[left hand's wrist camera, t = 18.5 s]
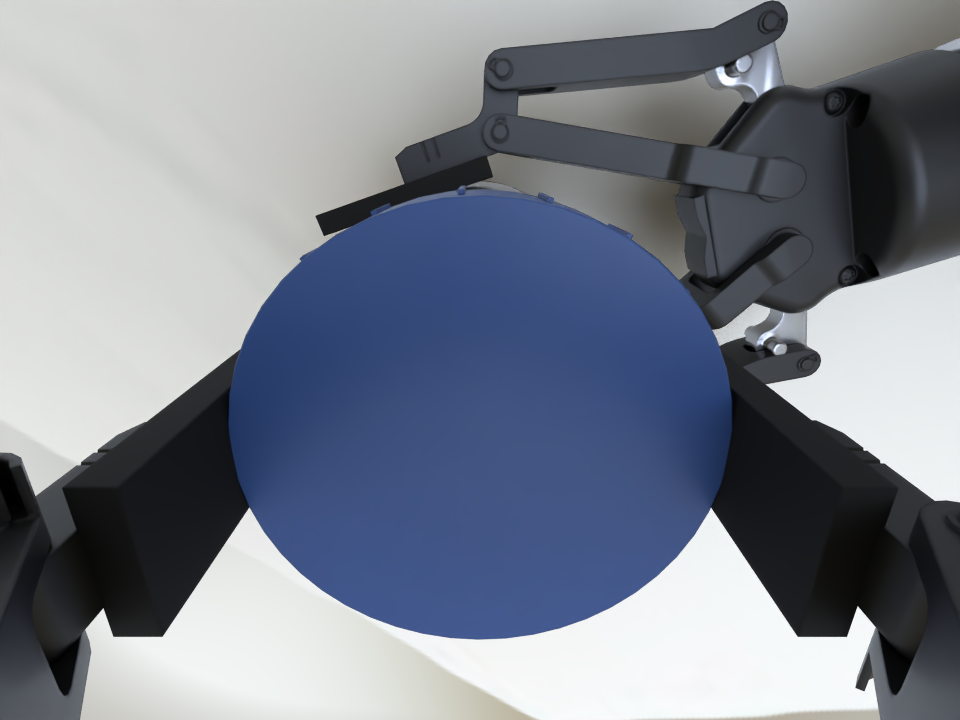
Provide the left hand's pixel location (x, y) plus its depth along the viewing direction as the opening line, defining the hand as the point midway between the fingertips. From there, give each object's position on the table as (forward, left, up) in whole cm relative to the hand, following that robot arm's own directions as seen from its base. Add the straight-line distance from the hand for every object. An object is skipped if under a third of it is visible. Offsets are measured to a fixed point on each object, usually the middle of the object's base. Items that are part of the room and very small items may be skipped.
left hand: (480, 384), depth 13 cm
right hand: (-4, -2, -8) cm, 9 cm away
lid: (0, 0, +3) cm, 3 cm away
